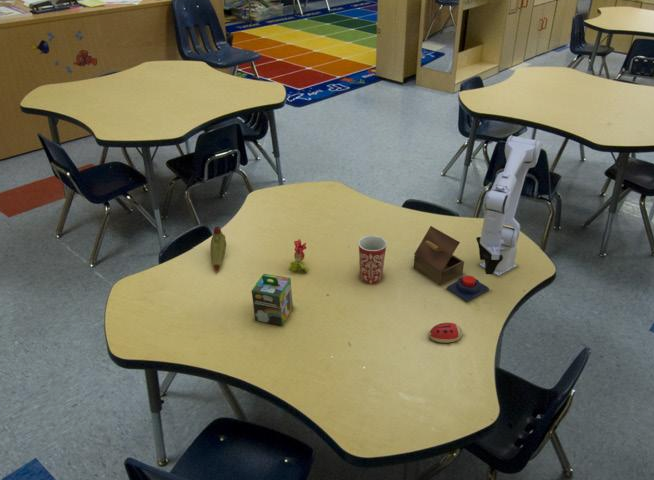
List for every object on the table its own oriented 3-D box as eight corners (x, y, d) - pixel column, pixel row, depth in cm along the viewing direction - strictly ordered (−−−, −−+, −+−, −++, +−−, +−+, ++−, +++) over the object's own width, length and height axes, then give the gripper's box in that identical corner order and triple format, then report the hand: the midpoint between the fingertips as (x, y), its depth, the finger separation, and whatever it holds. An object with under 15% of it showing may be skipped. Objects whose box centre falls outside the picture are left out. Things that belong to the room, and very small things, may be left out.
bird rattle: (289, 268, 201) (288, 274, 192) (289, 236, 199) (287, 240, 190) (307, 268, 201) (307, 274, 192) (307, 236, 199) (306, 240, 190)
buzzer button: (468, 278, 186) (468, 273, 185) (477, 284, 183) (478, 279, 182) (459, 282, 184) (459, 278, 183) (469, 288, 181) (469, 284, 180)
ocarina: (224, 274, 195) (221, 248, 190) (208, 274, 195) (205, 249, 190) (228, 242, 212) (225, 218, 207) (213, 242, 212) (210, 219, 207)
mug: (384, 286, 188) (386, 251, 181) (356, 284, 189) (357, 249, 182) (386, 264, 198) (387, 230, 191) (359, 262, 199) (360, 228, 192)
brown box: (435, 258, 201) (436, 245, 198) (462, 274, 192) (464, 261, 190) (413, 268, 196) (414, 255, 193) (440, 286, 187) (441, 272, 185)
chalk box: (293, 308, 179) (291, 268, 171) (282, 326, 172) (279, 286, 164) (265, 302, 182) (262, 263, 174) (253, 320, 174) (249, 280, 167)
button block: (468, 278, 191) (469, 270, 189) (488, 290, 185) (489, 283, 183) (446, 289, 186) (447, 281, 184) (467, 302, 180) (468, 295, 178)
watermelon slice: (466, 341, 165) (467, 331, 163) (433, 347, 163) (434, 337, 161) (456, 326, 171) (457, 316, 169) (424, 331, 169) (425, 322, 167)
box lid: (431, 226, 192) (425, 222, 189) (460, 242, 183) (453, 238, 181) (414, 254, 193) (408, 251, 190) (442, 272, 185) (436, 269, 182)
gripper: (512, 241, 166) (505, 280, 174) (500, 216, 179) (493, 253, 186) (487, 241, 167) (481, 280, 174) (476, 216, 179) (471, 253, 186)
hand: (486, 266), depth 180 cm, fingers open, 7 cm apart
